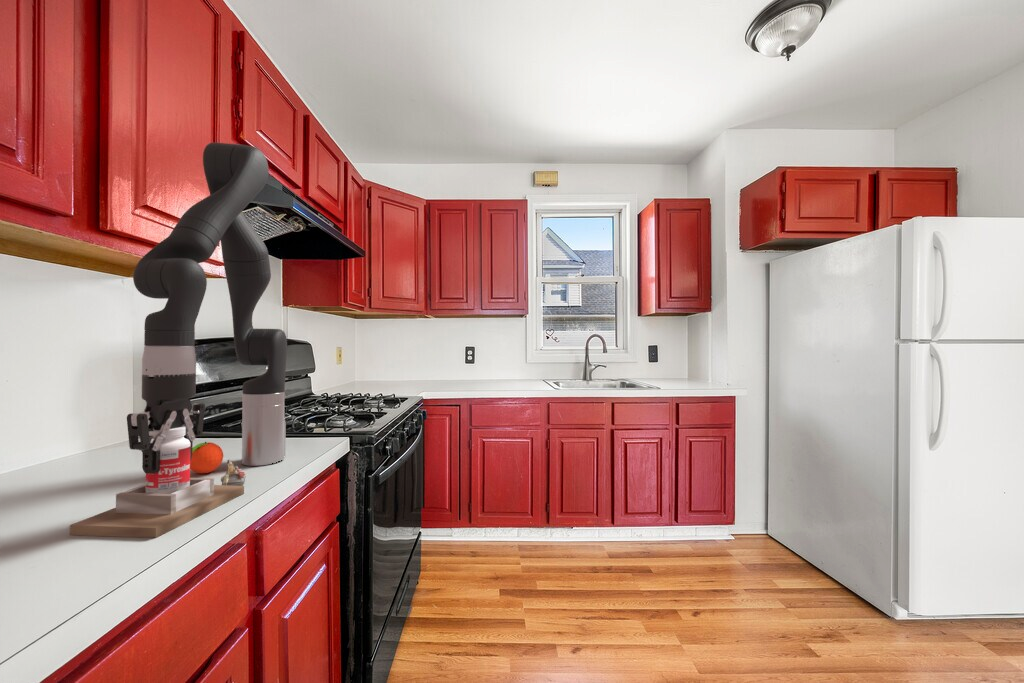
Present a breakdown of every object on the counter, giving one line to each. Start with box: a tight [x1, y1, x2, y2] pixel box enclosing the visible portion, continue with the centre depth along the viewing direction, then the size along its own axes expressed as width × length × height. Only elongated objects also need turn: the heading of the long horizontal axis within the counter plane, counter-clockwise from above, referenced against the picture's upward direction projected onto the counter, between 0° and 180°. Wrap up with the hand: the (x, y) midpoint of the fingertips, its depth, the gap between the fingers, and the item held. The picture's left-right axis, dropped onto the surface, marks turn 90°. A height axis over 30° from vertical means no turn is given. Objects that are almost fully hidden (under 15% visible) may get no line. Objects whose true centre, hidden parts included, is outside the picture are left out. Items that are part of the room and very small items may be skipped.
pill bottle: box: [145, 426, 191, 494], centre depth 78 cm, size 6×6×11 cm
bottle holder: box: [69, 477, 245, 539], centre depth 77 cm, size 20×14×4 cm
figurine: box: [220, 459, 247, 486], centre depth 91 cm, size 5×4×6 cm
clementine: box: [190, 441, 224, 475], centre depth 100 cm, size 8×7×7 cm
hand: (168, 466), depth 77 cm, fingers closed on pill bottle, 6 cm apart
